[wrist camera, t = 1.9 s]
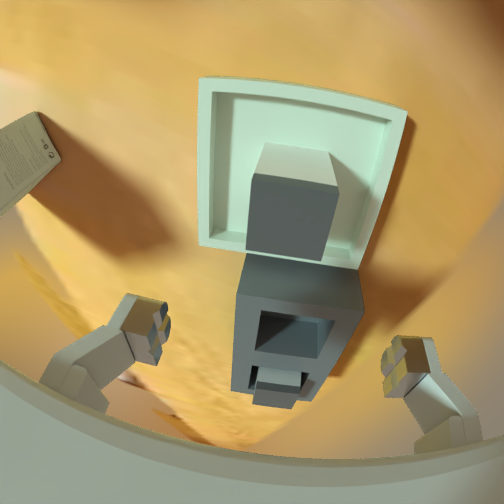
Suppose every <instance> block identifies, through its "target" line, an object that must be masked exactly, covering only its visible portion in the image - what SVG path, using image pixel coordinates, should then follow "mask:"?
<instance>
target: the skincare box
mask: <svg viewBox="0 0 504 504" xmlns="http://www.w3.org/2000/svg"><path fill="white" fill-rule="evenodd" d="M60 162H61V158H60V156H59V154H58V152H57V151H56V149H55V148H54V146H53V144H52V142H51V140H50V138H49V136H48V134H47V132H46V130H45V128H44V126H43V124H42V122H41V120H40V118H39V116H38V114H37V112H31V113H29V114H27V115H25V116H23V117H21V118H20V119H18V120H16V121H14V122H12V123H11V124H9V125H7V126H5V127H4V128H2V129H0V218H1V217H2V216H3V215H4V214H5V213H6V212H7V211H9V210H10V209H11V208H12V207H13V206H14V205H15V204H16V203H17V202H19V201H20V200H21V199H22V198H23V197H24V196H25V195H26V194H28V193H29V192H30V191H31V190H32V189H33V188H34V187H35V186H36V185H37V184H38V183H39V182H40V181H41V180H42V179H43V178H44V177H45V176H46V175H47V174H48V173H49V172H50V171H51V170H52V168H53V167H55V166H56V165H57V164H58V163H60Z"/></svg>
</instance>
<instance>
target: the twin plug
mask: <svg viewBox="0 0 504 504" xmlns="http://www.w3.org/2000/svg"><path fill="white" fill-rule="evenodd" d="M300 384H301V372H297V371H289V370H281V369H273V368H266V367H260V366H258V371H257V377H256V384H255V390H254V396H253V402H252V404H255V405H262V406H269V407H277V408H286V409H292V407H293V405H294V404H295V402H296V400H297V398H298V397H299V395H300Z"/></svg>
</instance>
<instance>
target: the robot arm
mask: <svg viewBox="0 0 504 504" xmlns="http://www.w3.org/2000/svg"><path fill="white" fill-rule="evenodd" d="M167 311H168V305H167V303H166V302H162V301H158V300H154V299H150V298H146V297H142V296H138V295H134V294H130V293H127V294H126V295H125V296H124V297H123V299H122V300H121V302H120V304H119V305H118V307H117V309H116V310H115V312H114V314H113V315H112V317H111V319H110V321H109V322H108V324H107V326H105V325H102V326H101V327H99V328H97V329H96V330H94V331H92V332H91V333H89V334H87V335H85V336H84V337H82V338H80V339H79V340H77V341H75V342H74V343H72V344H70V345H69V346H67V347H65V348H63V349H62V350H60V351H59V352H57V353H55V354H54V356H53V357H52V359H51V361H50V362H49V364H48V366H47V368H46V369H45V371H44V373H43V375H42V377H41V378H40V380H39V382H37V381H35V380H34V379H32V378H30V377H28V376H26V375H25V374H23V373H22V372H20V371H18V370H17V369H15V368H13V367H12V366H10V365H8V364H7V363H6V362H4V361H2V360H1V359H0V504H504V435H501V436H497V437H494V438H491V439H487V440H483V438H482V431H481V426H480V421H479V416H478V412H477V410H476V409H475V408H474V407H473V405H472V404H471V403H470V402H469V401H468V399H467V398H466V397H465V396H464V395H463V394H462V392H461V391H460V390H459V389H458V388H457V386H456V385H455V384H454V383H453V382H452V381H451V379H450V378H449V377H448V376H447V375H446V374H445V373H442V370H441V366H440V363H439V359H438V355H437V352H436V348H435V345H434V341H433V339H432V338H429V337H418V336H399V335H397V336H395V337H394V338H393V340H392V341H391V343H392V346H390V347H388V348H387V349H386V350H385V351H384V353H383V355H382V359H381V372H382V373H383V375H384V376H385V377H386V378H385V379H384V381H383V390H384V397H385V398H403V400H404V401H405V403H406V404H407V406H408V408H409V409H410V411H411V412H412V414H413V416H414V417H415V419H416V421H417V422H418V424H419V426H420V427H421V429H422V431H423V432H424V434H425V435H424V436H422V437H421V438H419V439H418V440H416V441H415V443H414V451H415V454H413V455H404V456H395V457H383V458H365V459H312V458H295V457H283V456H273V455H264V454H257V453H249V452H243V451H237V450H231V449H225V448H220V447H215V446H210V445H205V444H201V443H197V442H192V441H188V440H184V439H180V438H177V437H173V436H169V435H165V434H162V433H159V432H155V431H152V430H149V429H146V428H143V427H140V426H137V425H134V424H131V423H128V422H125V421H123V420H120V419H117V418H115V417H112V416H109V415H107V414H105V412H106V410H107V407H108V405H109V401H108V399H107V398H106V396H105V395H104V394H103V392H102V391H101V389H103V388H104V387H105V386H106V385H108V384H109V383H110V382H111V381H113V380H114V379H115V378H116V377H118V376H119V375H120V374H121V373H123V372H124V371H125V370H126V369H128V368H129V367H130V366H131V365H133V364H134V363H135V361H138V362H142V363H146V364H150V365H154V366H157V364H158V362H159V359H160V357H161V354H162V352H163V351H162V347H161V345H162V344H164V343H165V342H167V339H168V337H169V333H170V328H171V321H170V317H169V316H168V315H167Z"/></svg>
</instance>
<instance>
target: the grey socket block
mask: <svg viewBox="0 0 504 504" xmlns="http://www.w3.org/2000/svg"><path fill="white" fill-rule="evenodd" d="M364 312H365V309H364V302H363V296H362V290H361V285H360V279H359V274H358V270H356V269H349V268H343V267H336V266H329V265H323V264H316V263H310V262H303V261H297V260H290V259H284V258H277V257H271V256H264V255H258V254H251V253H247V254H246V258H245V262H244V266H243V270H242V274H241V278H240V282H239V286H238V290H237V295H236V310H235V326H234V343H233V360H232V377H231V391H235V392H240V393H246V394H253V395H254V390H255V384H256V377H257V371H258V366H260V367H266V368H273V369H281V370H289V371H297V372H301V384H300V395H299V397H298V398H297V400H300V401H312V400H313V398H314V397H315V395H316V394H317V392H318V391H319V389H320V387H321V386H322V384H323V383H324V381H325V380H326V378H327V377H328V375H329V373H330V372H331V370H332V369H333V367H334V365H335V364H336V362H337V360H338V359H339V357H340V355H341V354H342V352H343V350H344V349H345V347H346V345H347V343H348V342H349V340H350V338H351V336H352V335H353V333H354V331H355V329H356V327H357V326H358V324H359V322H360V320H361V318H362V316H363V314H364Z"/></svg>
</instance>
